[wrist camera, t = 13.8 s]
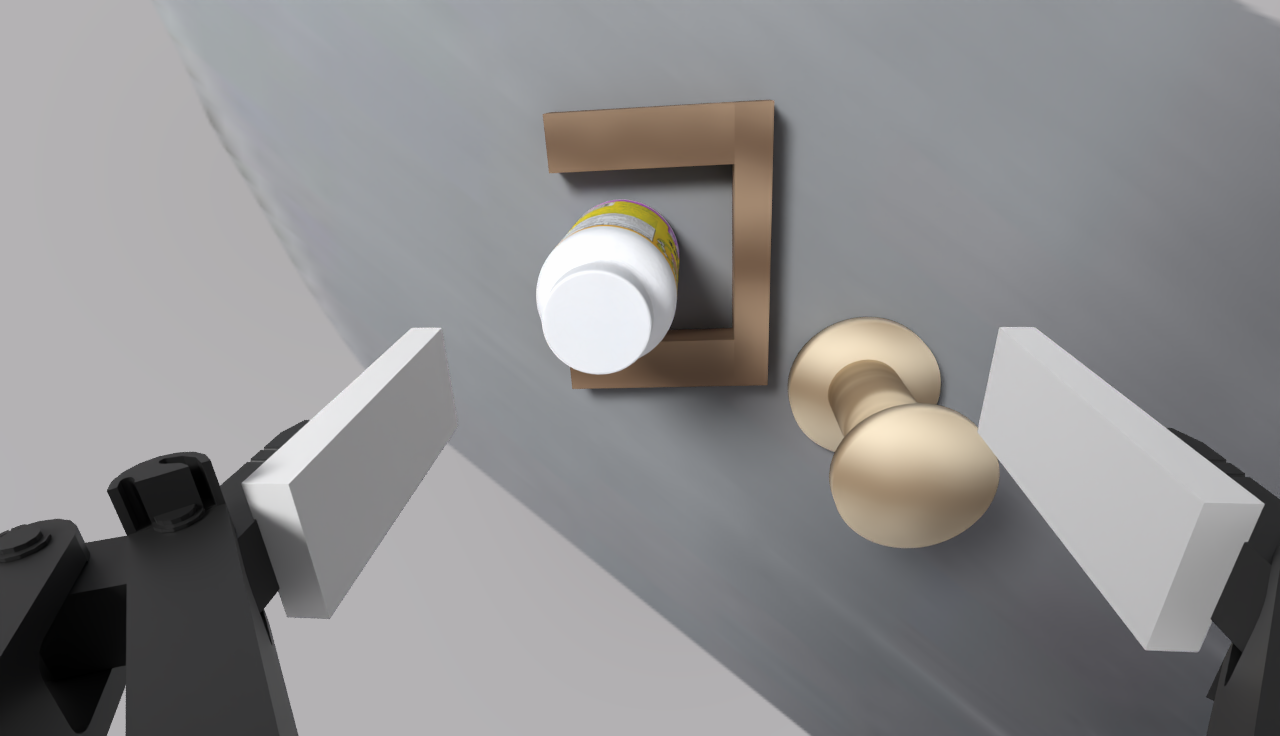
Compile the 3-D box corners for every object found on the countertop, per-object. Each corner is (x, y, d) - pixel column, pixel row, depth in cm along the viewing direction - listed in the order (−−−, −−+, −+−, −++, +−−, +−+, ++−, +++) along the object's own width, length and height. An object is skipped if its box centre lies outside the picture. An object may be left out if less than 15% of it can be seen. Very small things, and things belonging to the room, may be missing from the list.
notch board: (550, 112, 36) (542, 114, 34) (770, 99, 35) (774, 100, 33) (577, 375, 42) (572, 388, 41) (764, 371, 41) (767, 385, 40)
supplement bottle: (662, 318, 40) (649, 415, 29) (559, 289, 40) (504, 374, 28) (694, 214, 38) (695, 273, 26) (584, 181, 38) (535, 227, 26)
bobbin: (790, 318, 40) (823, 400, 30) (943, 314, 39) (1031, 397, 29) (785, 446, 43) (813, 558, 33) (925, 445, 43) (998, 559, 32)
